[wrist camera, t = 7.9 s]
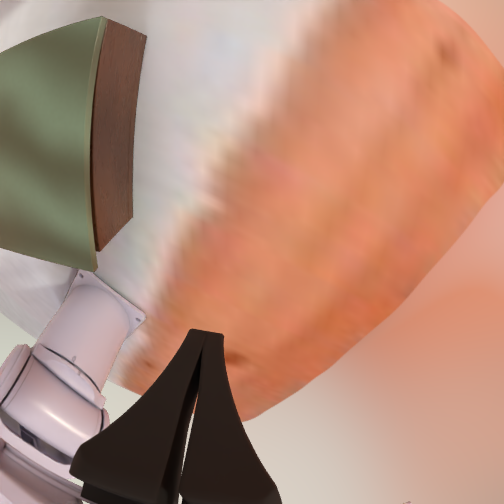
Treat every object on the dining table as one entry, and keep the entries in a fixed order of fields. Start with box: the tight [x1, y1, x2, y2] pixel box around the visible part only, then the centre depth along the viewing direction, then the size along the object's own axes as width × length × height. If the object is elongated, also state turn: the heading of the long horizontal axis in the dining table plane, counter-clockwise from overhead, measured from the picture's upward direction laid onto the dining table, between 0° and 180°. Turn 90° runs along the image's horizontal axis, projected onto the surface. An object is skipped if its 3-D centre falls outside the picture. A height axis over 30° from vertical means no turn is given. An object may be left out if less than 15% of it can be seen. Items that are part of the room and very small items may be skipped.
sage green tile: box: [0, 16, 107, 272], centre depth 11 cm, size 14×12×1 cm
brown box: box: [90, 19, 147, 252], centre depth 13 cm, size 14×12×5 cm
